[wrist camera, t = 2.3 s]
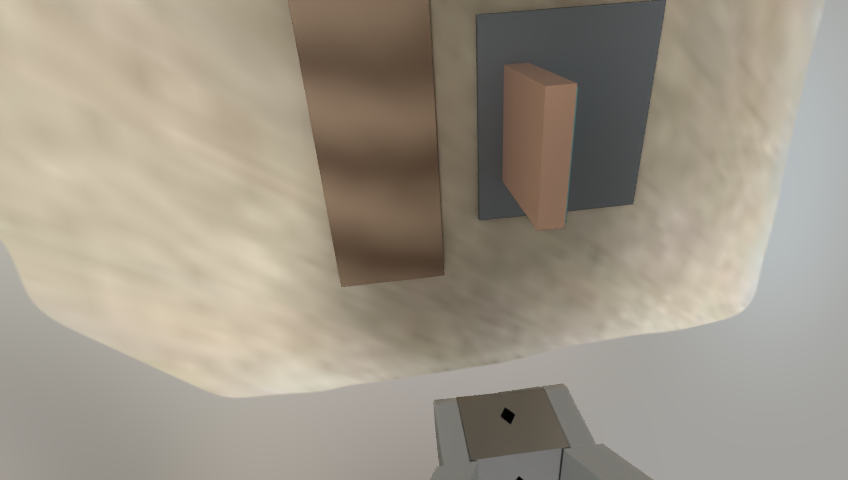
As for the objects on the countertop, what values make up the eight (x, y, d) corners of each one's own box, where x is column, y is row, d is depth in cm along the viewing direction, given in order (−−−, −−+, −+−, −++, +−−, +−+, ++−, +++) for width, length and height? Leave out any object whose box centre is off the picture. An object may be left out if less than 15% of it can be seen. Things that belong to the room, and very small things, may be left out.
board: (289, -9, 27) (286, -9, 26) (425, -19, 27) (427, -20, 26) (342, 278, 36) (341, 286, 35) (442, 267, 37) (444, 275, 36)
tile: (503, 64, 30) (545, 86, 23) (530, 62, 30) (580, 83, 23) (502, 181, 33) (537, 230, 26) (525, 178, 33) (567, 227, 26)
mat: (476, 14, 28) (477, 14, 28) (662, -1, 29) (666, -1, 29) (478, 218, 35) (479, 220, 35) (630, 202, 36) (633, 204, 35)
